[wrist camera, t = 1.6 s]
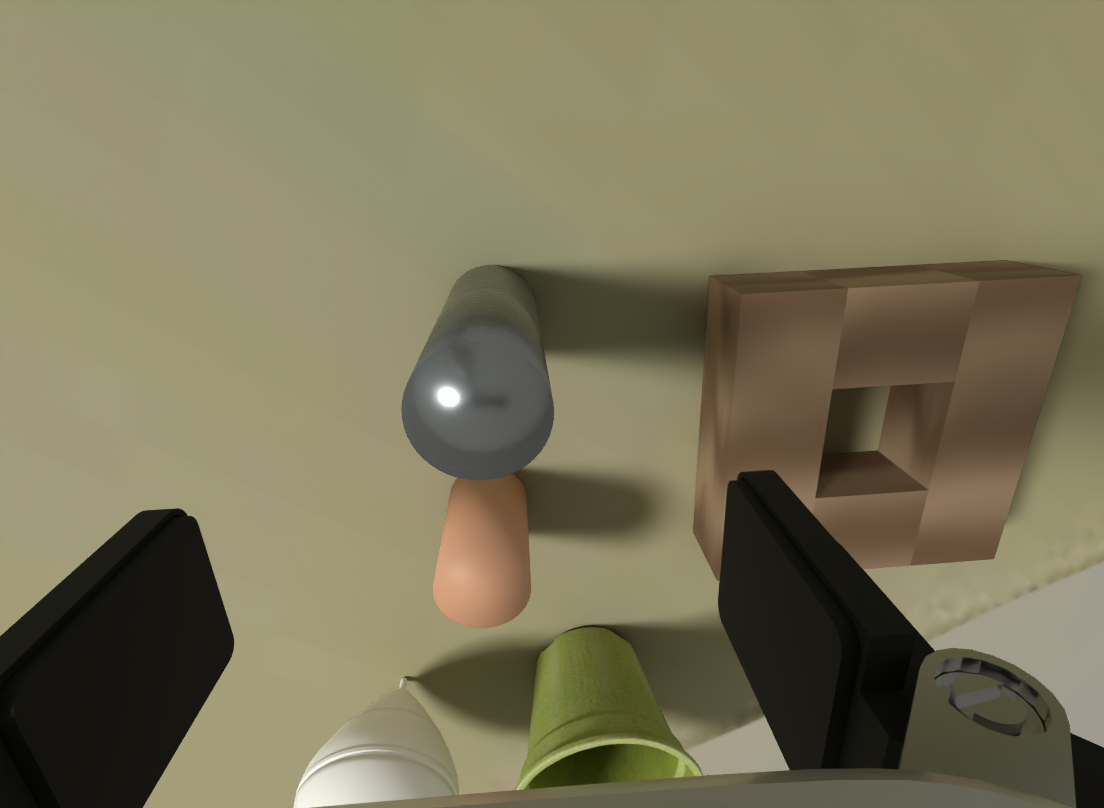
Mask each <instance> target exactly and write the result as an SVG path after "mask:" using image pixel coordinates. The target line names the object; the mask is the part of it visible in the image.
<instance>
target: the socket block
mask: <svg viewBox="0 0 1104 808" xmlns="http://www.w3.org/2000/svg"><path fill="white" fill-rule="evenodd" d="M1081 278H1082V275H1077V274H1072V273H1067V272H1062V271H1057V270H1052V269H1047V268H1041V267H1036V266H1031V265H1026V264H1021V263H1016V262H1010V261H1005V260H1000V261H982V262H963V263H944V264H925V265H907V266H888V267H869V268H850V269H832V270H813V271H794V272H776V273H757V274H738V275H719V276H710V277H709V292H708V308H707V324H706V339H705V355H704V370H703V386H702V401H701V417H700V433H699V448H698V464H697V479H696V495H695V511H694V526H693V533H694V535H695V537H696V539H697V541H698V543H699V545H700V547H701V549H702V551H703V553H704V555H705V557H706V559H707V561H708V563H709V565H710V567H711V569H712V571H713V573H714V575H715V577H716V579H717V580H720V571H721V558H722V546H723V533H724V521H725V509H726V496H727V487H728V483H729V482H730V481H731V480H737V477H738V474H739V473H740V472H746V471H761V470H774V471H775V472H776V473H777V474H778V475H779V476H780V477H781V478H782V480H783V481H784V482H785V483H786V484H787V485H788V486H789V488H790V489H791V490H792V491H793V492H794V493H795V494H796V496H797V497H798V498H799V499H800V500H801V501H802V502H803V504H804V505H805V506H806V507H807V508H808V509H809V510H810V512H811V513H812V514H813V515H814V516H815V517H816V518H817V519H818V521H819V522H820V523H821V524H822V525H823V526H824V527H825V529H826V530H827V531H828V532H829V533H830V534H831V535H832V537H833V538H834V539H835V540H836V541H837V542H838V543H839V544H841V545H842V546H843V547H844V548H845V550H846V551H847V552H848V553H849V554H850V555H851V556H852V557H853V559H854V560H855V561H856V562H857V563H858V564H859V565H860V567H861V568H862V569H872V568H885V567H897V566H910V565H923V564H936V563H949V562H962V561H975V560H988V559H994V557H995V554H996V551H997V548H998V545H999V541H1000V538H1001V535H1002V532H1003V528H1004V525H1005V522H1006V519H1007V516H1008V512H1009V509H1010V506H1011V503H1012V499H1013V496H1014V493H1015V490H1016V487H1017V483H1018V480H1019V477H1020V474H1021V471H1022V467H1023V464H1024V461H1025V458H1026V454H1027V451H1028V448H1029V445H1030V442H1031V438H1032V435H1033V432H1034V429H1035V426H1036V422H1037V419H1038V416H1039V413H1040V409H1041V406H1042V403H1043V400H1044V397H1045V393H1046V390H1047V387H1048V384H1049V381H1050V377H1051V374H1052V371H1053V368H1054V364H1055V361H1056V358H1057V355H1058V352H1059V348H1060V345H1061V342H1062V339H1063V336H1064V332H1065V329H1066V326H1067V323H1068V319H1069V316H1070V313H1071V310H1072V307H1073V303H1074V300H1075V297H1076V294H1077V290H1078V287H1079V284H1080V281H1081ZM877 386H891V389H890V394H889V399H888V404H887V409H886V414H885V419H884V424H883V429H882V434H881V439H880V444H879V449H878V451H871V452H856V453H841V454H827V455H822V452H823V446H824V440H825V433H826V427H827V421H828V414H829V408H830V402H831V395H832V389H845V388H861V387H877Z"/></svg>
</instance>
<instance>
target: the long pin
mask: <svg viewBox="0 0 1104 808" xmlns="http://www.w3.org/2000/svg"><path fill="white" fill-rule="evenodd" d="M402 420H403V425H404V429H405V431H406V434H407V437H408V438H409V440H410V442H411V444H412V446H413V447H414V448H415V450H416V451H417V452H418V453H419V455H420V456H421V457H422V458H423V459H424V460H426V461H427V462H428V463H429V464H430V465H432V466H433V467H435V468H437V469H438V470H440V471H442V472H444V473H446V474H448V475H451V476H454V477H457V478H462V479H467V480H491V479H497V478H501V477H504V476H507V475H510V474H512V473H514V472H516V471H518V470H520V469H522V468H523V467H525V466H526V465H528V464H529V463H530V462H531V461H532V460H533V459H534V458H535V457H536V456H537V455H538V454H539V453H540V452H541V450H542V449H543V447H544V446H545V444H546V442H547V440H548V438H549V436H550V433H551V429H552V425H553V420H554V406H553V399H552V393H551V387H550V382H549V376H548V370H547V365H546V359H545V354H544V348H543V342H542V337H541V331H540V325H539V320H538V314H537V309H536V303H535V299H534V295H533V293H532V290H531V289H530V287H529V285H528V284H527V282H526V281H525V280H524V279H523V278H522V277H521V276H520V275H518V274H517V273H516V272H514V271H512V270H510V269H508V268H505V267H502V266H497V265H485V266H480V267H476V268H474V269H471V270H470V271H468V272H466V273H465V274H464V275H462V276H461V277H460V278H459V279H458V280H457V282H456V283H455V285H454V286H453V288H452V290H451V292H450V294H449V296H448V298H447V301H446V303H445V305H444V307H443V309H442V311H441V313H440V315H439V317H438V320H437V322H436V324H435V326H434V328H433V330H432V332H431V334H430V336H429V338H428V341H427V343H426V345H425V347H424V349H423V351H422V353H421V355H420V357H419V360H418V362H417V364H416V366H415V368H414V370H413V372H412V374H411V376H410V379H409V381H408V383H407V385H406V388H405V391H404V395H403V399H402Z"/></svg>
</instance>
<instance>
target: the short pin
mask: <svg viewBox="0 0 1104 808" xmlns="http://www.w3.org/2000/svg"><path fill="white" fill-rule="evenodd" d="M530 594H531V578H530V557H529V536H528V515H527V496H526V490H525V487H524V485H523V483H522V482H521V480H520V479H519V478H518V477H517V476H516V475H515V474H514V473H512V474H510V475H507V476H504V477H501V478H497V479H491V480H467V479H462V478H457V480H456V481H455V482H454V484H453V486H452V488H451V492H450V497H449V502H448V507H447V513H446V518H445V524H444V529H443V535H442V540H441V545H440V551H439V556H438V562H437V567H436V573H435V578H434V583H433V595H434V599H435V602H436V604H437V606H438V607H439V609H440V610H441V611H442V612H443V613H444V614H445V615H446V616H447V617H448V618H450V619H451V620H453V621H455V622H456V623H459V624H461V625H464V626H468V627H474V628H489V627H495V626H499V625H502V624H504V623H506V622H509V621H510V620H512V619H514V618H515V617H516V616H517V615H519V614H520V613H521V612H522V611H523V609H524V608H525V607H526V605H527V603H528V601H529V598H530Z"/></svg>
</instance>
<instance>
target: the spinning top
mask: <svg viewBox="0 0 1104 808" xmlns="http://www.w3.org/2000/svg"><path fill="white" fill-rule="evenodd" d="M406 685H407V679H406V678H402V679H401V682H400V687H399V689H396V690H394V691H392V692H390V693H388V694H386V695H384V696H382V697H381V698H379V699H377V700H376V701H374V702H373V703H371V704H370V705H369V706H367V707H366V708H365V709H363V710H362V711H360V712H359V713H358V714H356V715H355V716H354V717H352V718H351V719H349V720H348V721H347V722H346V723H345V724H344V725H343V726H342V727H341V728H340V729H339V730H338V731H337V732H336V733H335V734H334V735H333V736H332V737H331V738H330V739H329V740H328V741H327V742H326V743H325V744H324V745H323V746H322V748H321V749H320V750H319V751H318V752H317V754H316V755H315V756H314V758H313V759H312V761H311V762H310V764H309V765H308V767H307V769H306V771H305V773H304V775H303V777H302V780H301V782H300V784H299V786H298V789H297V793H296V797H295V803H294V808H311V807H323V806H334V805H346V804H358V803H369V802H381V801H393V800H405V799H416V798H428V797H440V796H452V795H459V785H458V777H457V772H456V768H455V765H454V762H453V759H452V757H451V754H450V752H449V750H448V747H447V745H446V743H445V741H444V738H443V736H442V734H441V732H440V730H439V729H438V728H437V726H436V725H435V723H434V722H433V720H432V719H431V718H430V716H429V714H428V713H427V712H426V710H425V709H424V708H423V706H422V705H421V704H420V703H419V701H418V700H417V699H416V698H415V697H414V696H413V695H412V694H411V693H410V692H409V691H407V690H406Z"/></svg>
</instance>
